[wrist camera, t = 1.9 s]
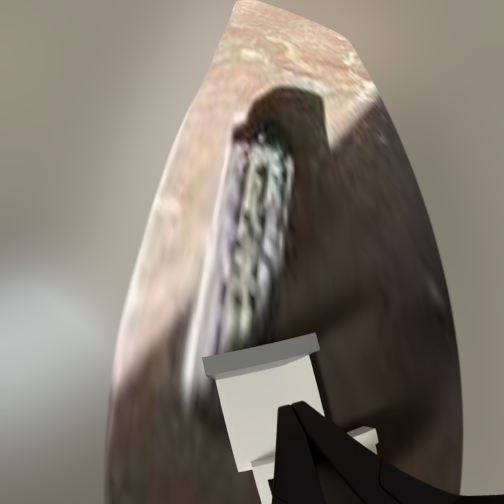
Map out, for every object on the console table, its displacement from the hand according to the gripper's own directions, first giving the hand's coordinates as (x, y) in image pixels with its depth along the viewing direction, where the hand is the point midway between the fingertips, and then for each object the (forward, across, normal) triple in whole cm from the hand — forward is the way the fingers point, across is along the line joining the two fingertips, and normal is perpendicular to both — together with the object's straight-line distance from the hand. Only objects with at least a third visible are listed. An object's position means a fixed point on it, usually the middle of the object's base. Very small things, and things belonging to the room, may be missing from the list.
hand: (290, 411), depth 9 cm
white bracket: (+7, -3, +12) cm, 14 cm away
